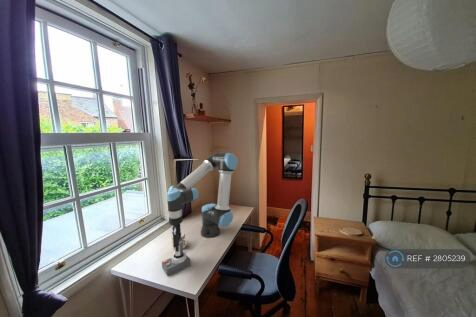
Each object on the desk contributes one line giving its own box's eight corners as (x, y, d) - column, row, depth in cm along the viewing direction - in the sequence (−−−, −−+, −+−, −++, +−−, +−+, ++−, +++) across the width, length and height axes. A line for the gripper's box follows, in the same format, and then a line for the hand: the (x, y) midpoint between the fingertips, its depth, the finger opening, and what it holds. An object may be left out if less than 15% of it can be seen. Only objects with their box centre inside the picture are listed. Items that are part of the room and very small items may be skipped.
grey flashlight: (177, 256, 120) (176, 236, 118) (185, 256, 119) (183, 236, 118) (174, 261, 115) (172, 240, 114) (182, 261, 115) (180, 241, 113)
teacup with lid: (169, 249, 134) (168, 233, 133) (178, 242, 142) (177, 227, 141) (183, 253, 130) (182, 236, 128) (191, 245, 138) (190, 230, 136)
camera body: (184, 257, 125) (183, 248, 124) (190, 264, 118) (189, 255, 117) (162, 267, 116) (161, 258, 115) (167, 276, 109) (166, 265, 108)
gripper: (171, 210, 122) (174, 245, 125) (165, 223, 104) (169, 263, 108) (183, 209, 123) (186, 243, 126) (179, 222, 106) (183, 261, 109)
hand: (178, 252), depth 117 cm, fingers closed on grey flashlight, 4 cm apart
